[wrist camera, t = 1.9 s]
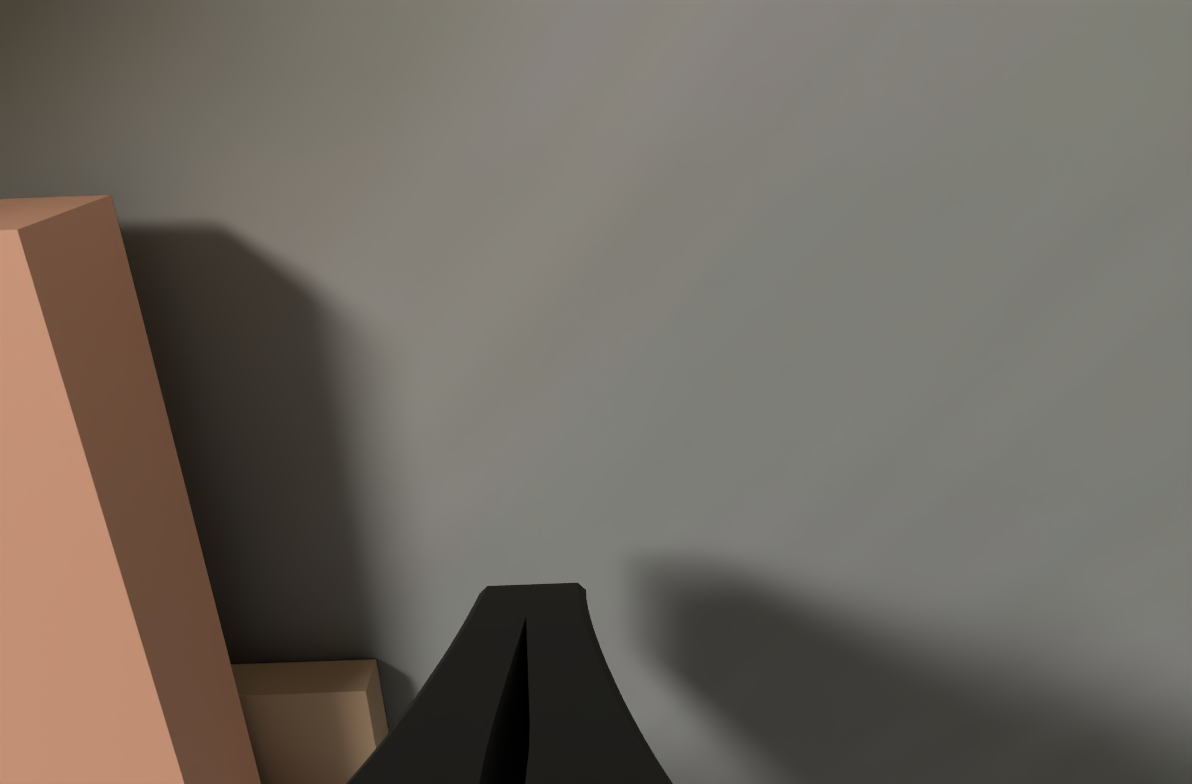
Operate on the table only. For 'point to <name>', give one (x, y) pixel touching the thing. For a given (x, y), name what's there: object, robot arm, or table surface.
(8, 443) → the link
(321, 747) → the pintle plate
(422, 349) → the table surface
